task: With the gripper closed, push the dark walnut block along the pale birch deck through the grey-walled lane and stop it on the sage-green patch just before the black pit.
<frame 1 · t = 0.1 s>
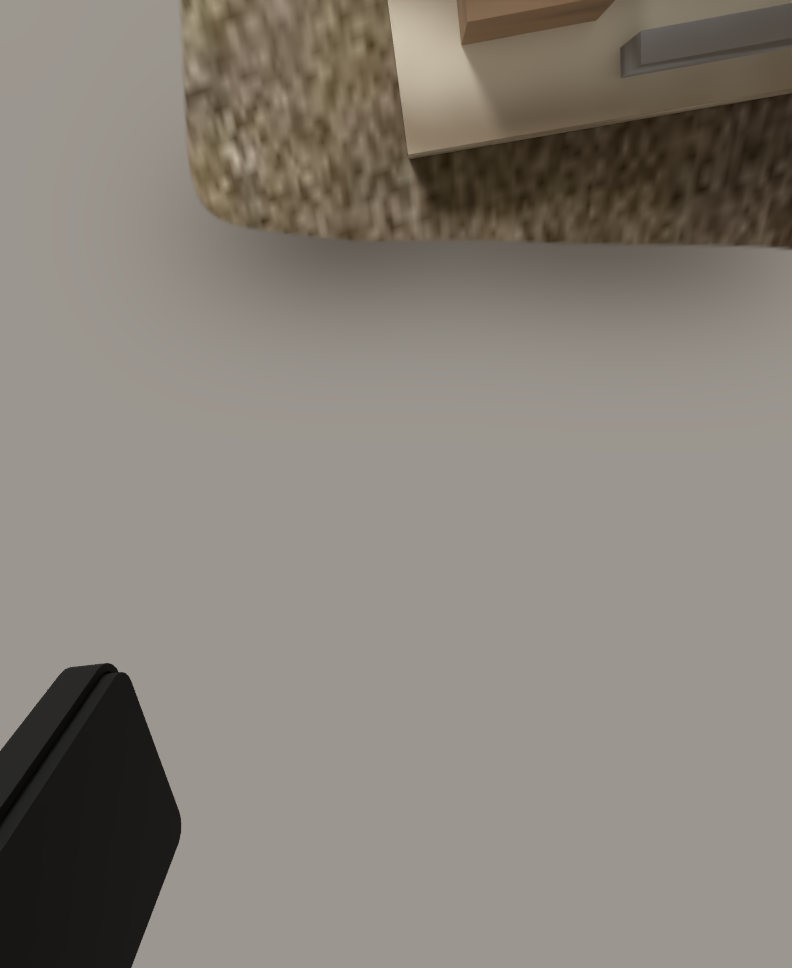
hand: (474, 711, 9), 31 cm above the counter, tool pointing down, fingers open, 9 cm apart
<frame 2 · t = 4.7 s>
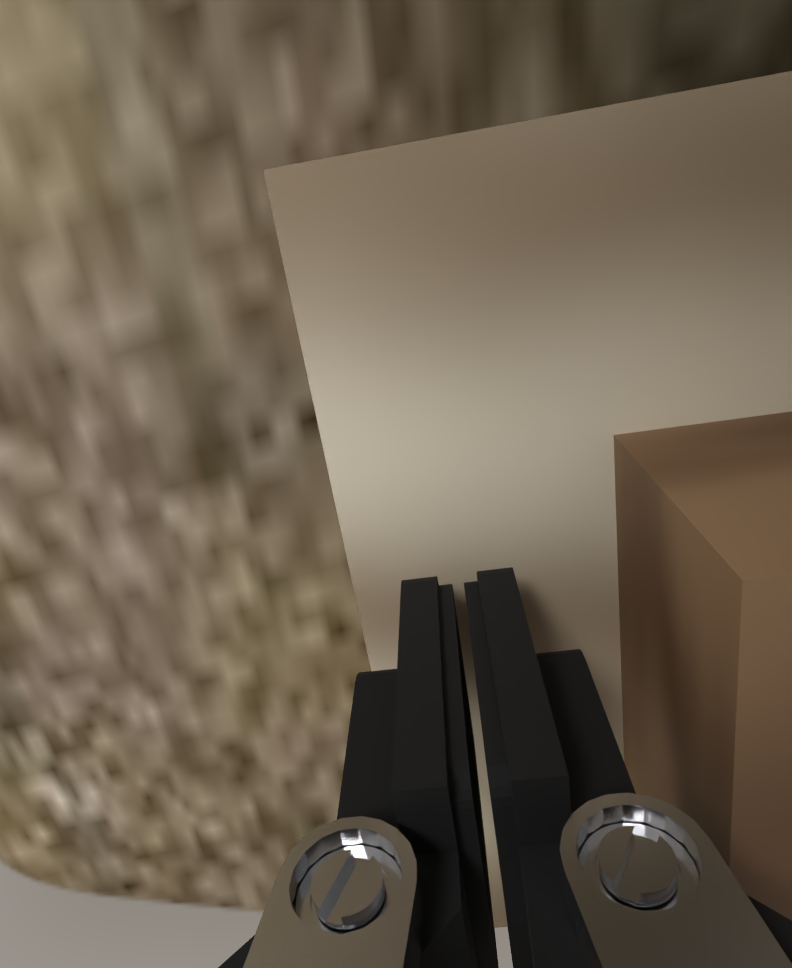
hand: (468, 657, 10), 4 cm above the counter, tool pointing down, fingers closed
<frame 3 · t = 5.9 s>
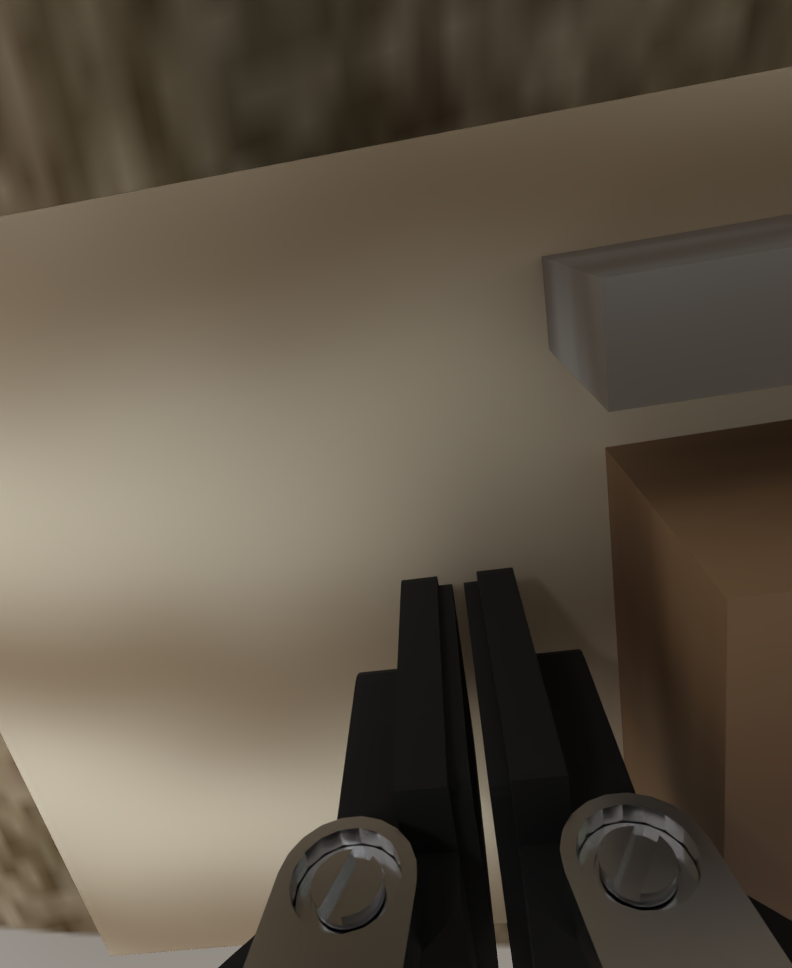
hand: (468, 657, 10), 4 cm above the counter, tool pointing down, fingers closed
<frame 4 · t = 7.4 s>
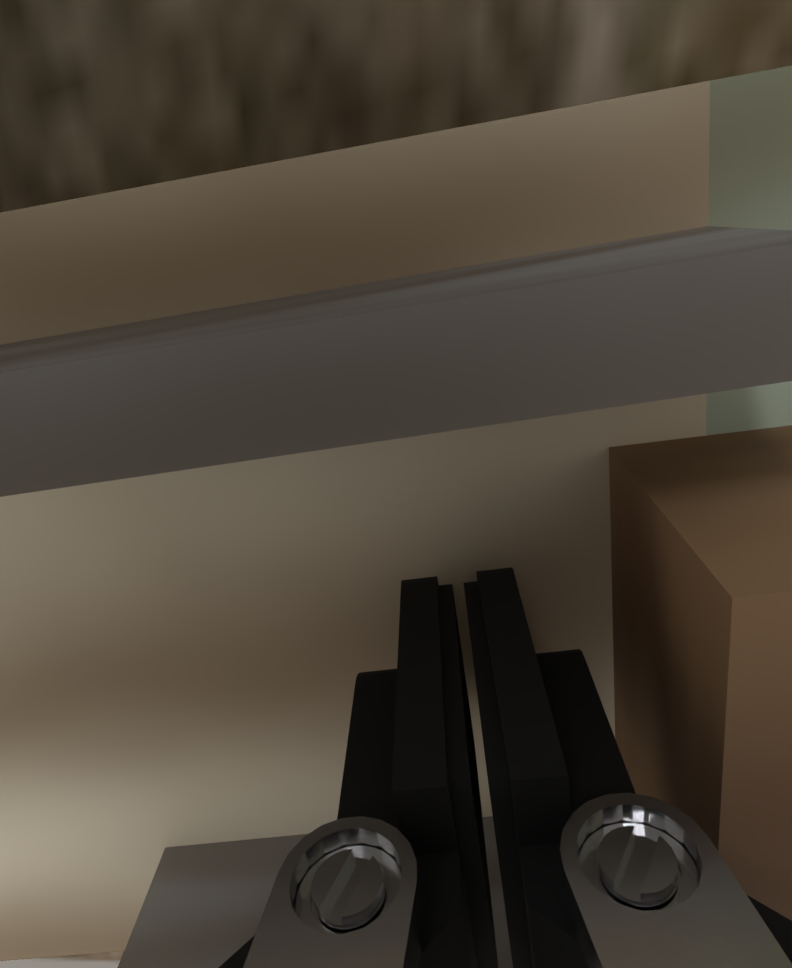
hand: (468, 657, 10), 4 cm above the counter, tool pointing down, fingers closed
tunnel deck: (541, 527, 13), on the counter
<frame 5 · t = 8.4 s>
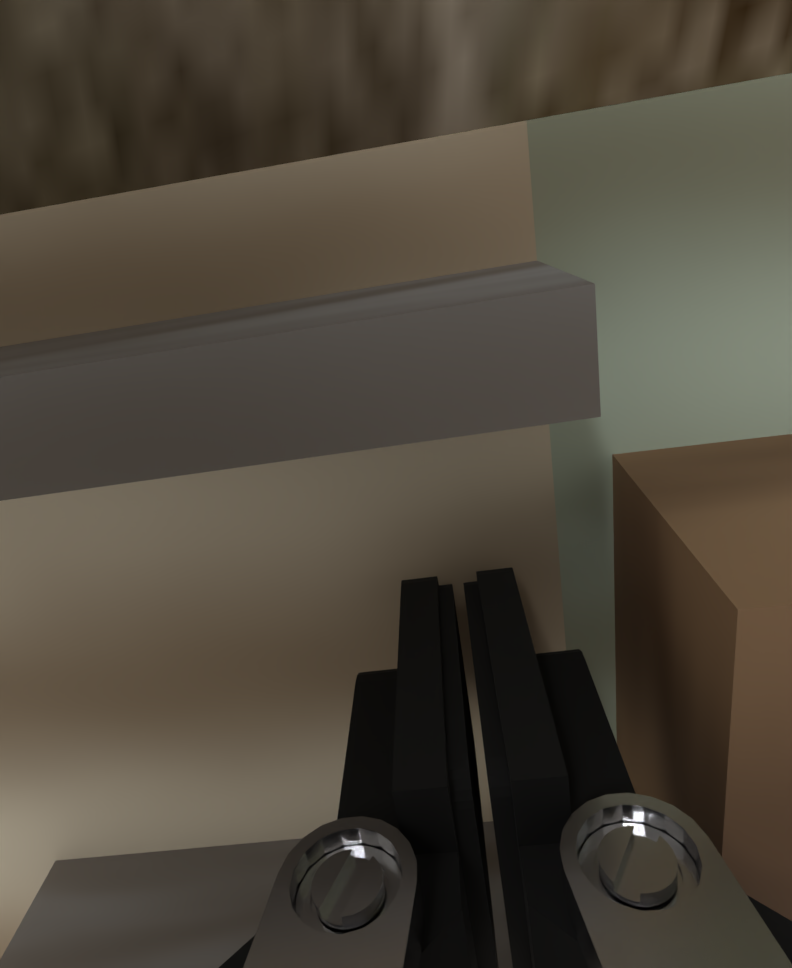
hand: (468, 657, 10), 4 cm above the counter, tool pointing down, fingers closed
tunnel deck: (433, 545, 13), on the counter
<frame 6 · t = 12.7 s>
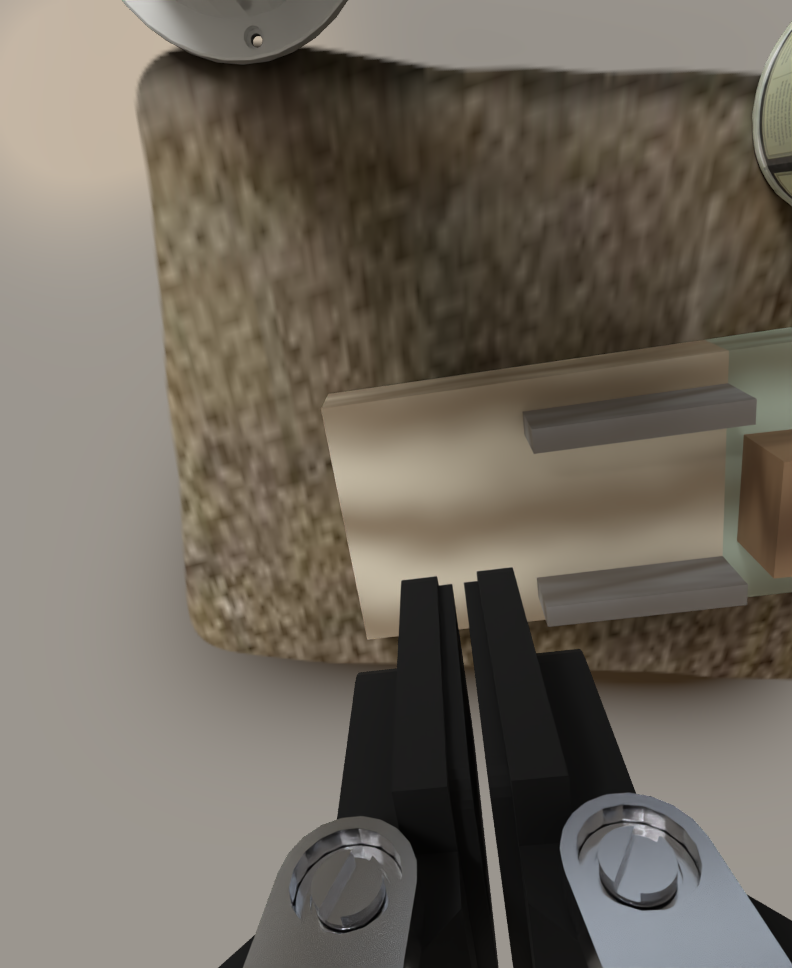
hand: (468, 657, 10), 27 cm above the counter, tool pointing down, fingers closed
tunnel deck: (665, 469, 38), on the counter
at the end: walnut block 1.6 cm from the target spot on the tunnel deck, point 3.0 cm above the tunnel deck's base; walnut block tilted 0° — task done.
